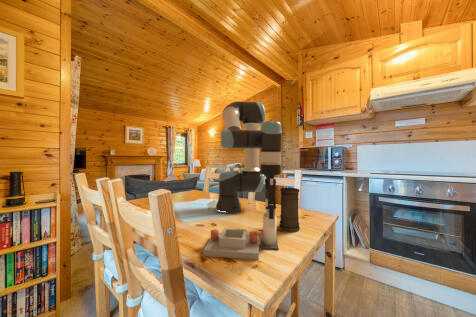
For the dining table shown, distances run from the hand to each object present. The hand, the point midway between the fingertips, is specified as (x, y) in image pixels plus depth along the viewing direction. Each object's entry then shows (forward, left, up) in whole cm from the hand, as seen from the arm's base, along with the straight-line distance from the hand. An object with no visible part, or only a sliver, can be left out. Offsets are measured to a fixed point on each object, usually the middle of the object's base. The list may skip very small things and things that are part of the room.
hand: (269, 220), depth 71 cm
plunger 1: (+4, -20, -6) cm, 21 cm away
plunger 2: (+4, -6, -6) cm, 9 cm away
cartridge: (0, 0, -8) cm, 8 cm away
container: (-17, +10, -9) cm, 22 cm away
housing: (+4, -13, -9) cm, 16 cm away
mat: (0, 0, -9) cm, 9 cm away
